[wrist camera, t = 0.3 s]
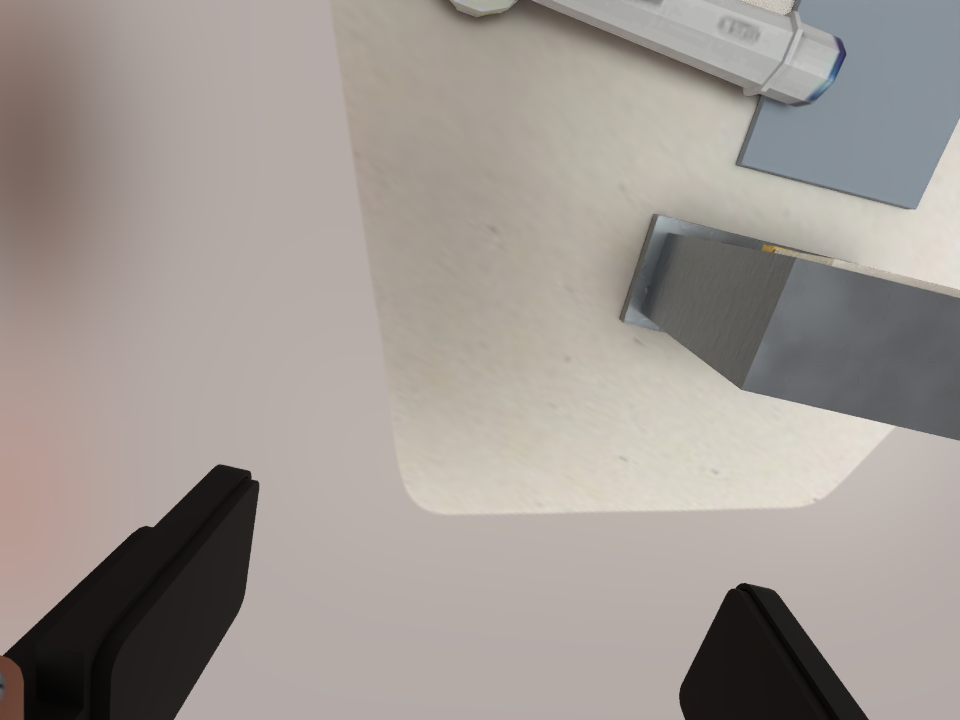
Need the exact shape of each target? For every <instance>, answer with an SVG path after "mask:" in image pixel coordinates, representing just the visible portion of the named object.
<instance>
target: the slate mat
mask: <svg viewBox="0 0 960 720" xmlns="http://www.w3.org/2000/svg"><path fill="white" fill-rule="evenodd" d="M792 11H796V12H799V15H800V19H801V22H802V23H804V24H807V25H809V26H812V27H814V28H817V29H819V30H821V31H824V32H826V33H829V34H831V35H834V36H836V37H839V38H841V39H842V41H843V44H844V47H845V50H846V54H847V55H846V57H845V59H844V61H843V64H842V66H841V68H840V70H839V73H838V75H837V77H836V79H835V81H834V83H833V84H832V85H831V86H830V87H829V88H828V89H827V90H826V91H825V92H824V93H823V94H822V95H821V96H820V97H819V98H818V99H817V100H816V101H815V103H814V104H812V105H807V106H802V107H797V108H796V107H794V106H791V105H788V104H786V103H783V102H780V101H778V100H775V99H772V98H770V97H767V96H765V95H762V94H761V97H760V100H759V103H758V105H757V108H756V111H755V114H754V116H753V119H752V122H751V125H750V127H749V130H748V133H747V136H746V138H745V141H744V144H743V147H742V149H741V152H740V155H739V158H738V160H737V163H736V165H738V166H742V167H746V168H750V169H753V170H757V171H761V172H765V173H769V174H773V175H777V176H781V177H784V178H788V179H792V180H796V181H800V182H804V183H808V184H812V185H816V186H819V187H823V188H827V189H831V190H835V191H839V192H843V193H847V194H850V195H854V196H858V197H862V198H866V199H870V200H874V201H878V202H881V203H885V204H889V205H893V206H897V207H901V208H905V209H916V208H917V206H918V204H919V202H920V200H921V198H922V196H923V194H924V191H925V189H926V187H927V185H928V183H929V181H930V179H931V177H932V175H933V173H934V170H935V168H936V166H937V164H938V162H939V160H940V158H941V156H942V154H943V152H944V150H945V147H946V145H947V143H948V141H949V139H950V137H951V135H952V133H953V131H954V129H955V126H956V124H957V122H958V120H959V118H960V0H796V1H795V4H794V7H793V9H792Z"/></svg>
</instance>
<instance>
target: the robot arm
mask: <svg viewBox="0 0 960 720" xmlns="http://www.w3.org/2000/svg"><path fill="white" fill-rule="evenodd" d="M258 493H259V482H258V481H255V480H251V472H250V471H248V470H243V469H238V468H234V467H230V466H226V465H217V466H215V467H214V468H213V469H212V470H211V471H210V472H209V473H208V474H207V475H206V476H205V477H204V478H203V479H202V480H201V481H200V482H199V483H198V484H197V485H196V486H195V487H194V488H193V489H192V490H191V491H190V492H189V493H188V494H187V495H186V496H185V497H184V498H183V499H182V500H181V501H180V502H179V503H178V504H177V505H176V506H175V507H174V508H173V509H172V510H171V511H170V512H168V513H167V515H165V516H164V517H163V518H162V519H161V520H160V521H159V522H158V523H157V524H156V525H155V526H154V527H148V526H144V527H141V528H139V529H138V530H136V531H135V532H134V533H132V534H131V535H130V536H129V537H128V538H127V539H126V540H125V541H124V542H123V543H122V544H121V545H119V546H118V547H117V548H116V549H115V550H114V551H113V552H112V553H111V554H110V555H109V556H108V557H107V558H106V559H105V560H104V561H103V562H101V564H99V565H98V566H97V567H96V568H95V569H94V570H93V571H92V572H91V573H90V574H89V575H88V576H87V577H86V578H85V579H83V580H82V581H81V582H80V583H79V584H78V585H77V586H76V587H75V588H74V589H73V590H72V591H71V592H70V593H69V594H68V595H67V596H65V598H63V599H62V600H61V601H60V602H59V603H58V604H57V605H56V606H55V607H54V608H53V609H52V610H51V611H50V612H48V613H47V614H46V615H45V616H44V617H43V618H42V619H41V620H40V621H39V622H38V623H37V624H36V625H35V626H34V627H33V628H32V629H31V630H29V631H28V632H27V633H26V634H25V635H24V636H23V637H22V638H21V639H20V640H19V641H18V642H17V643H16V644H15V645H14V646H13V647H11V648H10V649H9V650H8V651H7V652H6V653H5V654H4V655H3V656H0V720H174V718H175V717H176V715H177V713H178V712H179V710H180V708H181V707H182V705H183V703H184V702H185V700H186V699H187V697H188V695H189V694H190V692H191V690H192V689H193V687H194V685H195V684H196V682H197V680H198V679H199V677H200V675H201V674H202V672H203V670H204V669H205V667H206V665H207V664H208V662H209V660H210V659H211V657H212V655H213V654H214V652H215V650H216V649H217V647H218V646H219V643H220V642H221V641H222V639H223V637H224V636H225V634H226V632H227V630H228V629H229V627H230V625H231V624H232V622H233V621H234V619H235V617H236V616H237V614H238V612H239V610H240V607H241V604H242V602H243V599H244V595H245V589H246V582H247V574H248V567H249V560H250V553H251V545H252V538H253V530H254V523H255V515H256V508H257V501H258ZM679 699H680V706H681V709H682V712H683V715H684V718H685V720H869V719H868V718H867V717H866V715H865V714H864V712H863V711H862V710H861V708H860V707H859V705H858V704H857V703H856V701H855V700H854V699H853V697H852V696H851V694H850V693H849V692H848V690H847V689H846V688H845V686H844V685H843V683H842V682H841V681H840V679H839V678H838V676H837V675H836V674H835V672H834V671H833V670H832V668H831V667H830V665H829V664H828V663H827V661H826V660H825V659H824V658H823V656H822V654H821V653H820V652H819V650H818V649H817V647H816V646H815V645H814V643H813V642H812V640H811V639H810V638H809V636H808V635H807V634H806V632H805V631H804V629H803V628H802V627H801V625H800V624H799V623H798V621H797V620H796V618H795V617H794V616H793V614H792V613H791V612H790V610H789V609H788V607H787V606H786V605H785V603H784V602H783V600H782V599H781V598H780V596H779V595H778V594H777V593H776V592H775V591H774V590H771V589H769V588H764V587H760V586H755V585H751V584H746V583H741V584H739V585H738V586H737V587H736V589H731V590H729V591H728V593H727V595H726V596H725V598H724V600H723V602H722V604H721V606H720V609H719V610H718V612H717V615H716V616H715V619H714V620H713V622H712V624H711V627H710V628H709V631H708V632H707V635H706V637H705V639H704V641H703V643H702V645H701V647H700V649H699V651H698V653H697V655H696V657H695V659H694V661H693V663H692V665H691V667H690V669H689V671H688V673H687V675H686V677H685V679H684V681H683V683H682V685H681V688H680V693H679Z"/></svg>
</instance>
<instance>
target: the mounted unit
mask: <svg viewBox="0 0 960 720" xmlns="http://www.w3.org/2000/svg"><path fill="white" fill-rule="evenodd" d="M620 320H621V321H622V322H623V323H627V324H632V325H636V326H640V327H644V328H648V329H653V330H657V331H661V332H665V333H668V334H669V335H670V336H671V337H673V338H674V339H675V340H677V341H678V342H679V343H681V344H682V345H683V346H685V347H686V348H687V349H689V350H690V351H691V352H692V353H694V354H695V355H696V356H698V357H699V358H700V359H702V360H703V361H704V362H706V363H707V364H708V365H710V366H711V367H712V368H713V369H715V370H716V371H717V372H719V373H720V374H721V375H723V376H724V377H725V378H727V379H728V380H729V381H731V382H732V383H733V384H734V385H736V386H737V387H738V388H740V389H741V390H745V391H749V392H753V393H758V394H762V395H766V396H771V397H775V398H779V399H783V400H788V401H792V402H796V403H801V404H805V405H809V406H813V407H818V408H822V409H826V410H831V411H835V412H839V413H844V414H848V415H852V416H856V417H861V418H865V419H869V420H874V421H878V422H882V423H886V424H891V425H895V426H899V427H904V428H908V429H912V430H916V431H921V432H925V433H929V434H934V435H938V436H942V437H946V438H951V439H955V440H960V290H958V289H954V288H950V287H946V286H942V285H938V284H934V283H930V282H926V281H922V280H918V279H914V278H910V277H906V276H902V275H898V274H894V273H890V272H886V271H882V270H878V269H874V268H870V267H866V266H862V265H858V264H854V263H850V262H846V261H842V260H838V259H834V258H830V257H826V256H822V255H818V254H814V253H810V252H806V251H802V250H798V249H794V248H790V247H786V246H782V245H778V244H774V243H770V242H766V241H762V240H758V239H754V238H750V237H746V236H742V235H738V234H734V233H730V232H726V231H722V230H718V229H714V228H710V227H706V226H702V225H698V224H694V223H690V222H686V221H682V220H678V219H674V218H670V217H666V216H662V215H656V214H654V215H653V218H652V221H651V224H650V227H649V230H648V233H647V236H646V239H645V243H644V246H643V249H642V252H641V255H640V258H639V261H638V264H637V267H636V270H635V273H634V276H633V279H632V282H631V285H630V288H629V291H628V295H627V298H626V301H625V304H624V307H623V310H622V313H621V316H620Z"/></svg>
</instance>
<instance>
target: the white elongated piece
mask: <svg viewBox="0 0 960 720" xmlns="http://www.w3.org/2000/svg"><path fill="white" fill-rule="evenodd" d="M449 1H450V2H451V3H452V4H453V5H454V6H455V7H456V8H457V10H458V11H461V12H463V13H466V14H469V15H472V16H474V17H477V18H478V17H479V16H484V15H490V14H496V13H499V14H500V13H501V12H503V11H507V10H508V9H509V8H510V7H511V6H513V5H514V4H515V3H516V2H517V1H518V0H449ZM531 1H534V2H536V3H539V4H541V5H544V6H546V7H549V8H551V9H553V10H556V11H558V12H561V13H563V14H566V15H568V16H570V17H573V18H575V19H578V20H580V21H583V22H585V23H588V24H590V25H592V26H595V27H597V28H600V29H602V30H605V31H607V32H609V33H612V34H614V35H617V36H619V37H622V38H624V39H627V40H629V41H631V42H634V43H636V44H639V45H641V46H644V47H646V48H649V49H651V50H653V51H656V52H658V53H661V54H663V55H666V56H668V57H670V58H673V59H675V60H678V61H680V62H683V63H685V64H688V65H690V66H692V67H695V68H697V69H700V70H702V71H705V72H707V73H709V74H712V75H714V76H717V77H719V78H722V79H724V80H727V81H729V82H731V83H734V84H736V85H739V86H741V87H743V92H744V95H745V96H748V97H749V96H753V95H757V94H762V95H765V96H767V97H770V98H772V99H775V100H778V101H780V102H783V103H786V104H788V105H791V106H794V107H796V108H797V107H802V106H807V105H812V104H814V103H815V101H816V100H817V99H818V98H819V97H820V96H821V95H822V94H823V93H824V92H825V91H826V90H827V89H828V88H829V87H830V86H831V85H832V84H833V83H834V81H835V79H836V77H837V75H838V73H839V70H840V68H841V66H842V64H843V61H844V59H845V57H846V55H847V54H846V50H845V47H844V44H843V41H842V39H841V38H839V37H836V36H834V35H831V34H829V33H826V32H824V31H821V30H819V29H817V28H814V27H812V26H809V25H807V24H804V23H802V22H801V19H800V15H799V12H796V11H792V12H790V13H787V14H785V15H781V14H778V13H775V12H772V11H769V10H766V9H763V8H761V7H758V6H755V5H752V4H749V3H746V2H743V1H740V0H531Z"/></svg>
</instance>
